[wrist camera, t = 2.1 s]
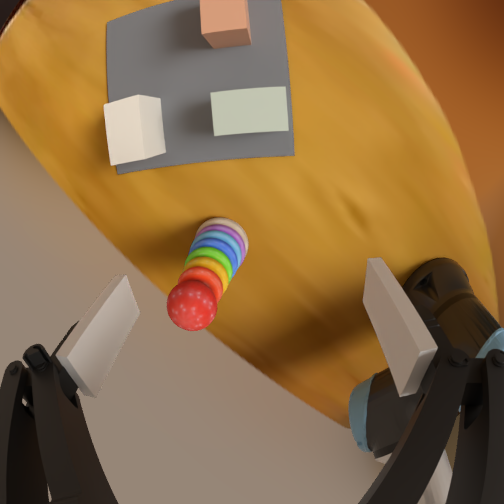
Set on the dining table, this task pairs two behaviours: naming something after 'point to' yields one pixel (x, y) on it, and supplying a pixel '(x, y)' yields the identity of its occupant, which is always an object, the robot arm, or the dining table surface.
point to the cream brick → (134, 129)
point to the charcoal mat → (197, 78)
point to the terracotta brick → (225, 22)
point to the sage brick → (249, 110)
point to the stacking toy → (207, 273)
